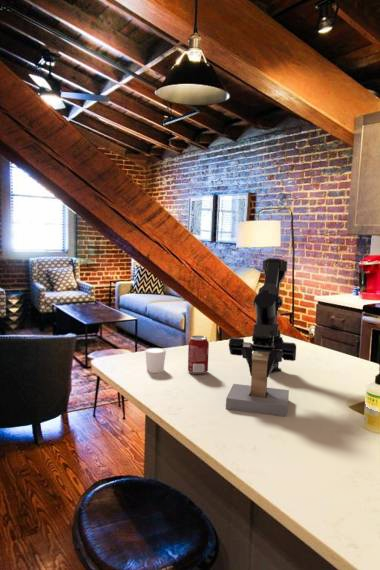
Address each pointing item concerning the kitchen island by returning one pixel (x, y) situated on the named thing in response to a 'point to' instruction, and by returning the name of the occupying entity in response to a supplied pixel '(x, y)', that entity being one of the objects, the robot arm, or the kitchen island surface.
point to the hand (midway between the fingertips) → (259, 375)
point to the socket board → (258, 400)
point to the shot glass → (155, 359)
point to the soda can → (198, 355)
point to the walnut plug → (259, 374)
